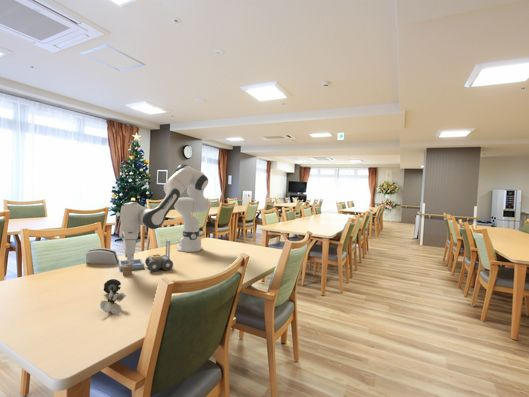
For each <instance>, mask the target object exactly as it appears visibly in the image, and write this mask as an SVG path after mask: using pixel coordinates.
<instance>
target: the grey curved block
mask: <svg viewBox="0 0 529 397" xmlns="http://www.w3.org/2000/svg"><path fill="white" fill-rule="evenodd" d="M85 257H86V258H85V259H86V262H85V263H86V264H111V265H116V264H118V262H119V261H120V259H119V258H118V254H117V252H116V250H114V249H110V248H104V247H99V248H98V247H97V248H96V247H95V248H92V249H89V250H88V251H87V252H86V254H85Z"/></svg>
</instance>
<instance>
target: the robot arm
mask: <svg viewBox="0 0 529 397" xmlns="http://www.w3.org/2000/svg"><path fill="white" fill-rule="evenodd" d="M208 184H209V178H208V177H207V176H206V175H205V174H204V173H203V171H200V170H198V169H196V168H193V167H191V166H189V165H188V164H185V163H182V164H179V165H178V166H177V167H176V168H175V172H174V173H173V174H172V175H171V176H170V177H169V178H168V179H167V180H166V182H165V183H164V184H163V191H164V193H165V197H164V198H163V199H162V200H161V201H160V203H159V204H158V205H157V206H156V207H155V208H149V207H146V206H143V205H141V204H140V203H138V202H135V201H131V202H125V203H123V204H122V205H121V208H120V212H119V213H120V214H119V221H120V225H119V238H121V240H122V247H123V250H124V252H125V253H124V254H125V255H124V256H125V258H126V260H127V262H131V258H132V254H134V255H135V253H136V246H137V239H138V236H139V226H144V227H147V229H151V230H156V229H159V228H161V227H162V226H163V224H164V222H165V220H166V217H167V215H168V214H169V213H170V211H171V210H172V209H173V207H174V210H175V211H176V212H178V213H179V214H180V215H181V218H182V221H183V230H182V236H181V238H180V239H179V240H177V245H176V249H177V251H178V252H186V253H187V252H188V253H189V252H190V253H193V252H194V253H195V252H200V251H201V250H203V249H204V247H203V246H202V238H201V237H200V235H201V234H200V220H199V219H198V218H196V217H195V216H193V215H192V213H205V212H208V211H209V210H210V208H211V202H210V201H209V199H208V198H206V197H205V196H204V193H205V192H204V190H205V189H206V188H207V186H208ZM186 190H187V191H186ZM185 191H186V193H187V195H188V197H187V196H185V197H184V196H182V197H180V196H181V195H183V193H184V192H185Z"/></svg>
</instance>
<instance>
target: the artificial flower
mask: <svg viewBox="0 0 529 397" xmlns="http://www.w3.org/2000/svg"><path fill="white" fill-rule="evenodd" d="M121 285H122V283H121V281H120V280H118V279H113V278H112V279H111V278H110V279H109V280H107V281H105V282H104V284H103V291H104V292H105V293H106V294H108V298H107V300H101V301H100V304H99V306H100V309H101V310H102V311H103V312H105V313H109V312H111V314H113V315H118V314H120V312H121V311H122V306H121V305H120V304H118V303H119V302H122V301H123V300H124V299H125V298H126V297H127V295H126V293H124V292H120V293H119V291H121V289H122V287H121ZM118 293H119V294H118ZM104 296H105V295H104Z"/></svg>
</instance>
